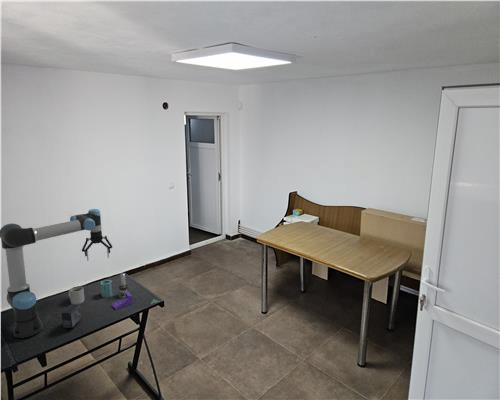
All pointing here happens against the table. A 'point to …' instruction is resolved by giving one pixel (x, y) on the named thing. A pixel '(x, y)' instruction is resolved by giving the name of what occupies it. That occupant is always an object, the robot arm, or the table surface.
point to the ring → (123, 287)
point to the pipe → (123, 284)
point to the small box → (71, 316)
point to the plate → (122, 296)
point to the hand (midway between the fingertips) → (98, 258)
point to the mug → (76, 295)
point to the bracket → (123, 302)
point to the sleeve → (106, 288)
